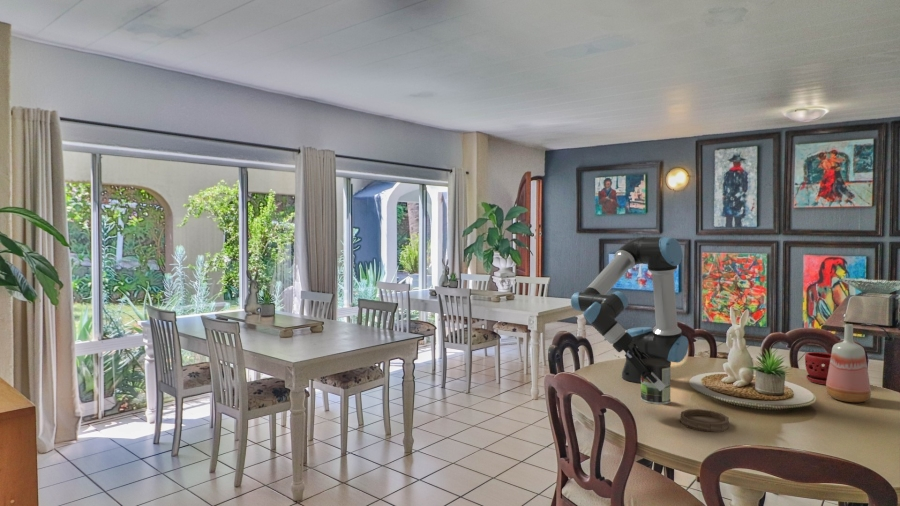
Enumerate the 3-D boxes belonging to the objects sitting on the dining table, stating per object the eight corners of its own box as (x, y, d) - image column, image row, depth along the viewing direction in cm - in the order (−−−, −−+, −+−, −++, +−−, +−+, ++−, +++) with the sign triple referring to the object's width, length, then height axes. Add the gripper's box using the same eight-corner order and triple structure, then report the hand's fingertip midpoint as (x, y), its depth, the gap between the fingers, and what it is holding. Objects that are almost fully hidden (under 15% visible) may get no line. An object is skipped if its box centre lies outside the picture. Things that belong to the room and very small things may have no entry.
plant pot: (842, 387, 234) (843, 359, 234) (805, 383, 241) (806, 356, 240) (839, 380, 246) (839, 353, 245) (803, 376, 252) (804, 350, 252)
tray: (682, 414, 206) (682, 407, 206) (728, 419, 199) (728, 412, 199) (679, 427, 192) (679, 420, 192) (728, 434, 186) (728, 426, 185)
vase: (829, 402, 216) (830, 326, 215) (822, 392, 229) (824, 320, 228) (874, 407, 210) (876, 329, 208) (865, 396, 223) (867, 322, 222)
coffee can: (648, 405, 197) (648, 366, 196) (636, 396, 207) (635, 358, 206) (676, 403, 198) (676, 364, 197) (662, 394, 208) (662, 357, 207)
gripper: (616, 338, 218) (659, 381, 212) (605, 351, 198) (653, 400, 192) (630, 325, 215) (674, 369, 209) (621, 337, 195) (669, 386, 189)
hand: (664, 384), depth 201 cm, fingers closed on coffee can, 10 cm apart
